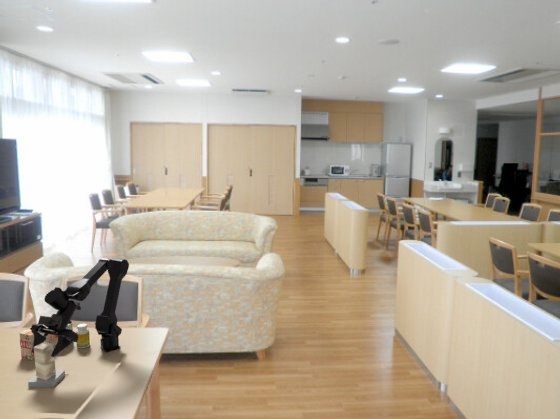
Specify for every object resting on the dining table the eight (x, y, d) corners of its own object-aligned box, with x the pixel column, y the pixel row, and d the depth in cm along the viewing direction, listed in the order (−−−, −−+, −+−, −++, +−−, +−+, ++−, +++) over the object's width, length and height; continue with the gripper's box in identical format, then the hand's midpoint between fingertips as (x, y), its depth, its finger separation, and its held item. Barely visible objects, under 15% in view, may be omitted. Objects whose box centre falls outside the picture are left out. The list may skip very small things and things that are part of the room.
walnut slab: (41, 378, 181) (41, 373, 180) (69, 379, 180) (69, 374, 180) (24, 393, 170) (24, 388, 170) (54, 394, 169) (54, 389, 169)
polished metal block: (46, 371, 177) (43, 341, 175) (55, 374, 175) (53, 344, 173) (36, 377, 173) (33, 347, 171) (45, 380, 171) (42, 349, 169)
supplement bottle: (76, 344, 209) (75, 324, 208) (89, 342, 211) (88, 322, 210) (77, 349, 204) (75, 328, 203) (90, 347, 207) (89, 326, 205)
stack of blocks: (63, 341, 213) (61, 314, 212) (74, 343, 211) (72, 317, 209) (21, 361, 194) (19, 332, 192) (32, 363, 191) (30, 334, 190)
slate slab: (41, 374, 179) (41, 369, 179) (65, 375, 179) (64, 370, 179) (28, 387, 170) (28, 381, 170) (53, 387, 170) (52, 382, 170)
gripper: (32, 302, 178) (8, 342, 169) (70, 308, 171) (48, 350, 163) (50, 315, 186) (28, 353, 178) (87, 322, 180) (67, 362, 171)
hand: (42, 354), depth 172 cm, fingers open, 9 cm apart
